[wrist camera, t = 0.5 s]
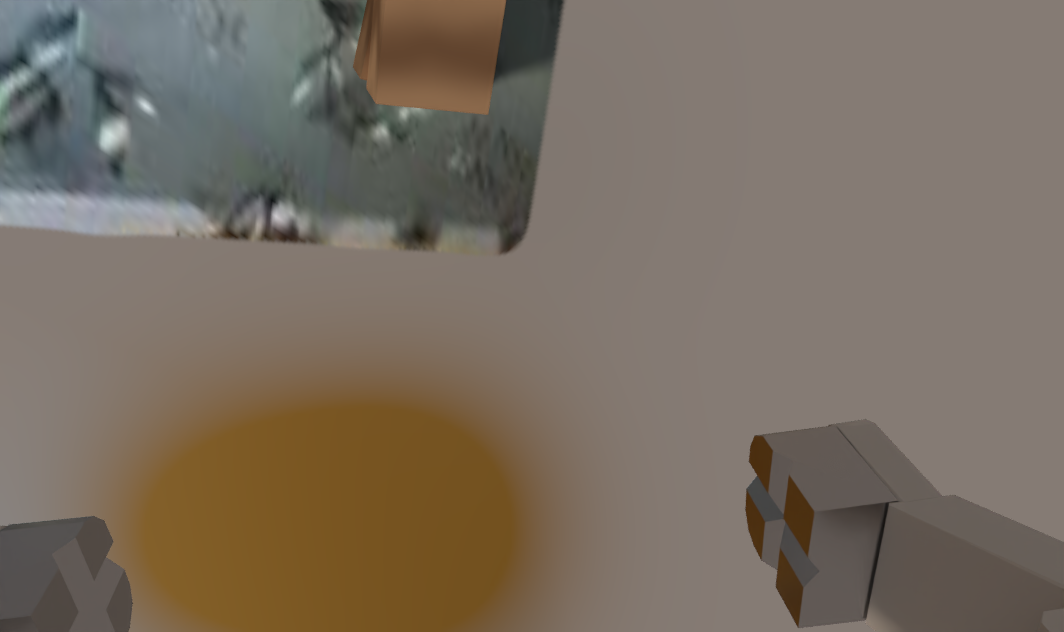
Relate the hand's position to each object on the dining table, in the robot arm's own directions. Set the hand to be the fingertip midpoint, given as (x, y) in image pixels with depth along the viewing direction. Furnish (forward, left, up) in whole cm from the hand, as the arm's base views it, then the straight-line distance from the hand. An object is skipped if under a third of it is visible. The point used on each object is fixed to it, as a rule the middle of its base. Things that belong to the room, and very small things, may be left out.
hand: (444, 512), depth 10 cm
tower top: (0, +10, -43) cm, 44 cm away
